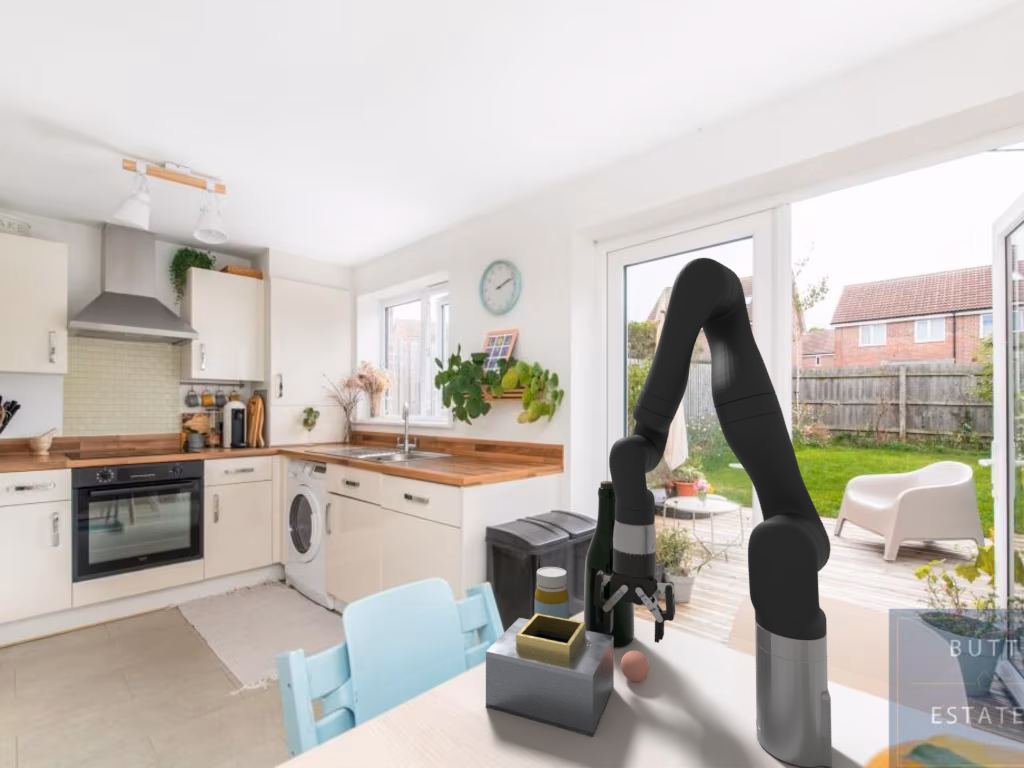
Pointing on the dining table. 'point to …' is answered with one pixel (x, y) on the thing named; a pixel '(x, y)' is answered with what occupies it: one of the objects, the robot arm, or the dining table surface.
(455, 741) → the dining table surface
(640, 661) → the ball
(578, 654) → the grey box with opening
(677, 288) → the robot arm
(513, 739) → the dining table surface
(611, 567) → the dark green wine bottle
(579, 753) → the dining table surface
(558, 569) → the bottle
